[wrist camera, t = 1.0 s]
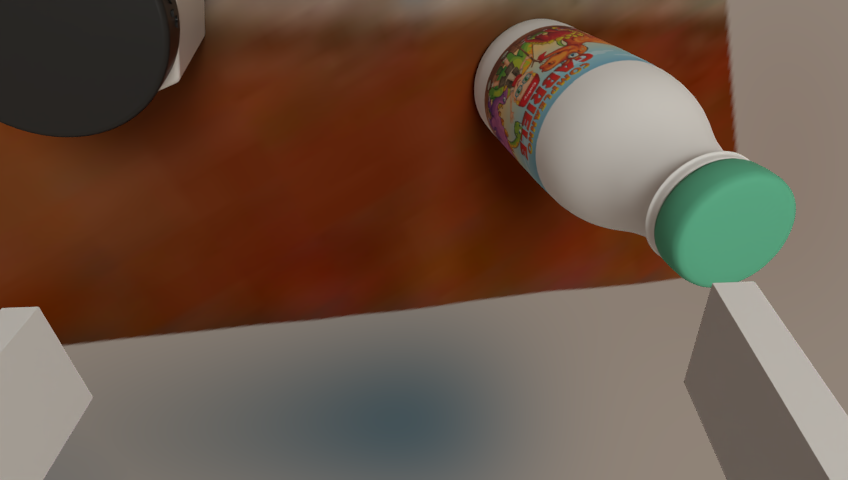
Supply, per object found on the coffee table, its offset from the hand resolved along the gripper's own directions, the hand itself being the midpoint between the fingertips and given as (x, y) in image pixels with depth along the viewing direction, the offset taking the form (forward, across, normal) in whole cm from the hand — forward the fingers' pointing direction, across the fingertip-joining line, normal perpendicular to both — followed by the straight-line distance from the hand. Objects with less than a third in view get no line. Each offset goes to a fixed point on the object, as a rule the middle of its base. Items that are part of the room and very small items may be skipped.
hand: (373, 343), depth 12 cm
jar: (+23, -15, +3) cm, 28 cm away
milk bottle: (+28, +7, -5) cm, 29 cm away
